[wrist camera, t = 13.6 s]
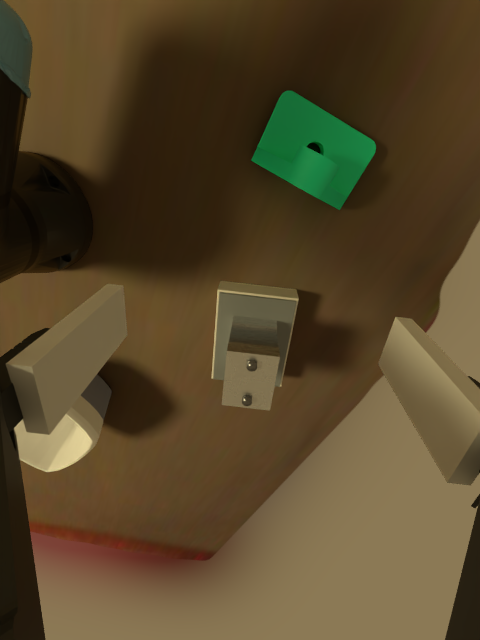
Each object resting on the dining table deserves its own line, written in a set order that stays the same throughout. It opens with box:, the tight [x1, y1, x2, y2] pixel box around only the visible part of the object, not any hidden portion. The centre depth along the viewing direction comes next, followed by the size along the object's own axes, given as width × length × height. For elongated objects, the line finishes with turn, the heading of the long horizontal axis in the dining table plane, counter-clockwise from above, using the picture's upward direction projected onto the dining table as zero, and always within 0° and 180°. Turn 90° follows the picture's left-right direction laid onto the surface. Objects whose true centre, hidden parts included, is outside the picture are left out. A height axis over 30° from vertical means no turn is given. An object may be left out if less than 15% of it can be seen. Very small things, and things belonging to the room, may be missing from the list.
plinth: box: [212, 281, 299, 387], centre depth 46 cm, size 11×15×4 cm
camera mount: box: [251, 91, 376, 210], centre depth 32 cm, size 12×8×10 cm, turn 64°
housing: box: [222, 316, 280, 410], centre depth 40 cm, size 6×8×10 cm
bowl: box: [14, 375, 112, 472], centre depth 51 cm, size 15×15×11 cm
